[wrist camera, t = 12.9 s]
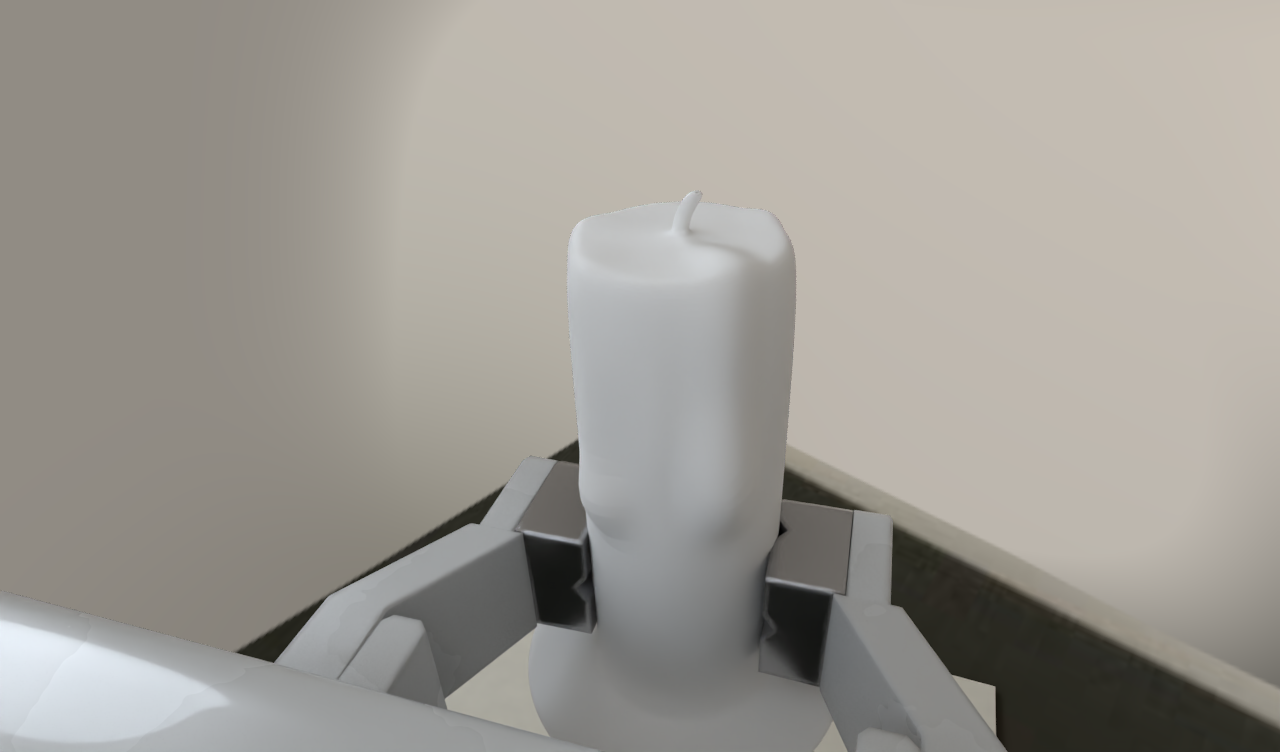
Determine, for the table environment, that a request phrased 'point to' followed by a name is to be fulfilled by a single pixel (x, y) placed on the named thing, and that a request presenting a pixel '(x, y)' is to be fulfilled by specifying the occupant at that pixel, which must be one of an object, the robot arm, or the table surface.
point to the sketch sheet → (510, 703)
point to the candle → (678, 484)
